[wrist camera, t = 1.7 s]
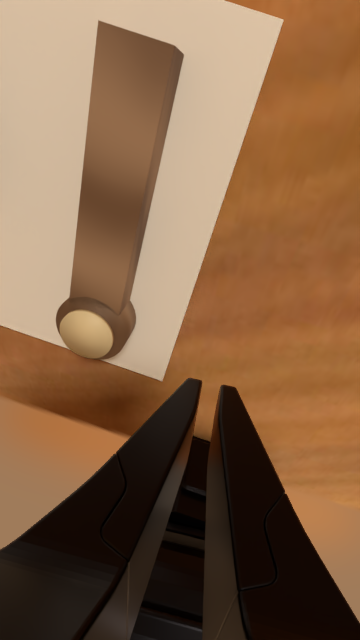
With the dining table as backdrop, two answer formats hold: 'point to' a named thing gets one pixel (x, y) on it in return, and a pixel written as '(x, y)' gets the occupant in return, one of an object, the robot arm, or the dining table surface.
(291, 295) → the dining table surface
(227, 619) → the robot arm
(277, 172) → the dining table surface
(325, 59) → the dining table surface
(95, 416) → the dining table surface
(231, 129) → the pivot plate
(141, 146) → the link
